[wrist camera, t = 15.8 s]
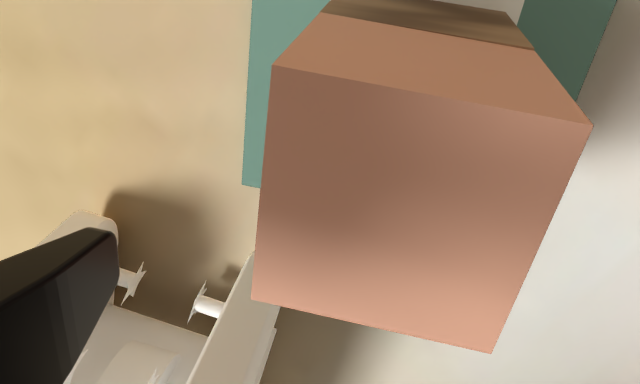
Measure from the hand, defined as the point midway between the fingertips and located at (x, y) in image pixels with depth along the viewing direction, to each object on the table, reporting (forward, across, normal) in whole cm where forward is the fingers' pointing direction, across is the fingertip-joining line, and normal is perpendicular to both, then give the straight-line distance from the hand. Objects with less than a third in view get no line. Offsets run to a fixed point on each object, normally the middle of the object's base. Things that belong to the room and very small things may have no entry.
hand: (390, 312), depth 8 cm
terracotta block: (+8, 0, 0) cm, 8 cm away
